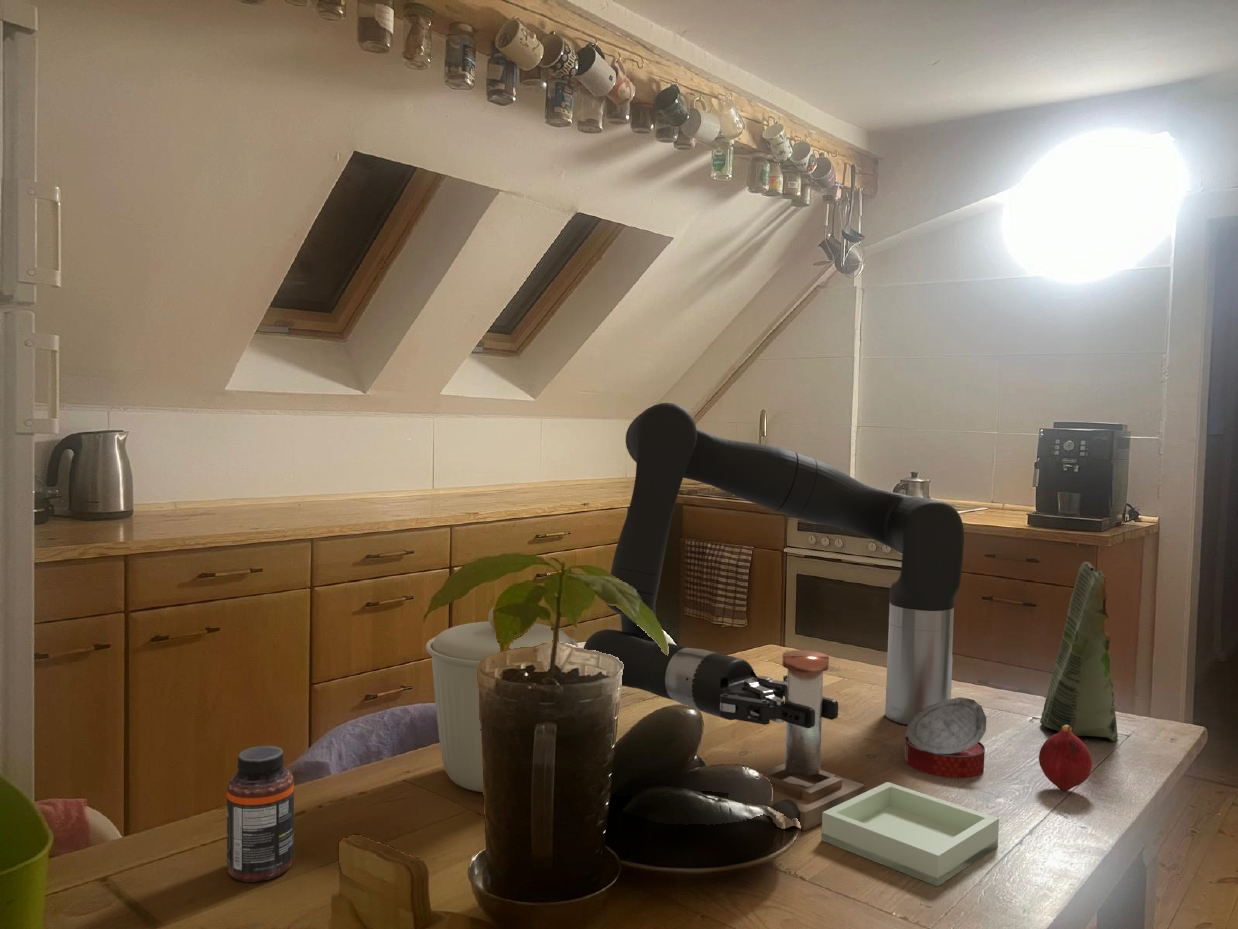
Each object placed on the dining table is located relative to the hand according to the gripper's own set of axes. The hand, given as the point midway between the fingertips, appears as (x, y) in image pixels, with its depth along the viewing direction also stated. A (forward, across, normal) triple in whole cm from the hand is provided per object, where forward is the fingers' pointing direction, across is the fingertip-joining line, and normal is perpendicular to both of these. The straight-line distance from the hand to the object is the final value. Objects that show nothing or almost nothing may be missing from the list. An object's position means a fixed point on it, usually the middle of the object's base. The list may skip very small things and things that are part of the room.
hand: (824, 714), depth 106 cm
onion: (+16, +28, +12) cm, 34 cm away
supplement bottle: (-27, -53, +10) cm, 61 cm away
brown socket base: (-3, 0, +11) cm, 11 cm away
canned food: (+2, +25, +12) cm, 27 cm away
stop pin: (-3, 0, +7) cm, 8 cm away
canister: (-31, -22, +11) cm, 40 cm away
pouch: (+9, +53, +12) cm, 55 cm away
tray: (+11, 0, +11) cm, 16 cm away
